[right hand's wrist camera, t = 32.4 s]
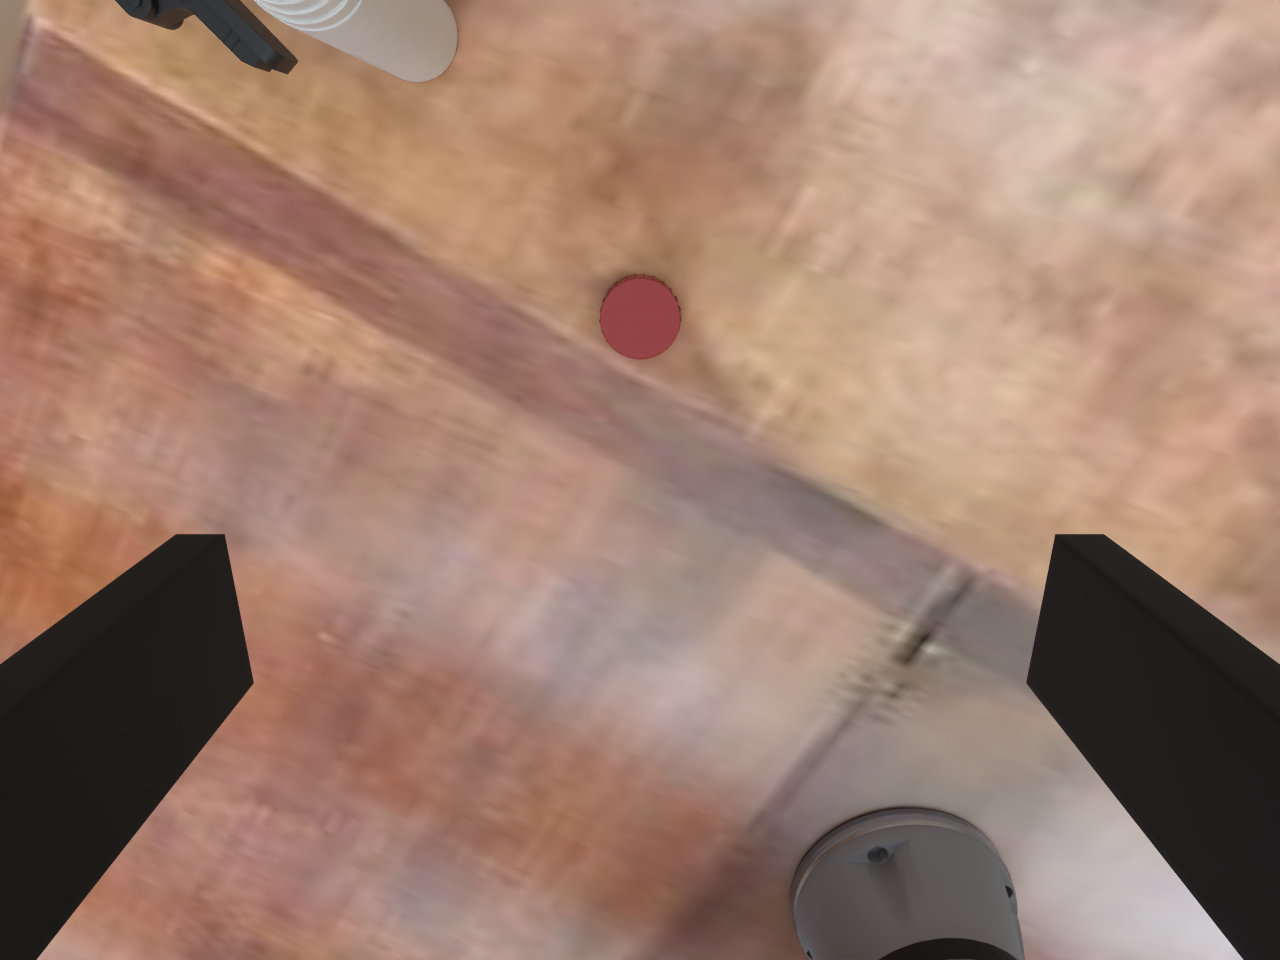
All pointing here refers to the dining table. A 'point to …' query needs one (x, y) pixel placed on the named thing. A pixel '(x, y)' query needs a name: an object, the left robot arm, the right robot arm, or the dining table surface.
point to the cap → (640, 317)
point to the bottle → (378, 31)
